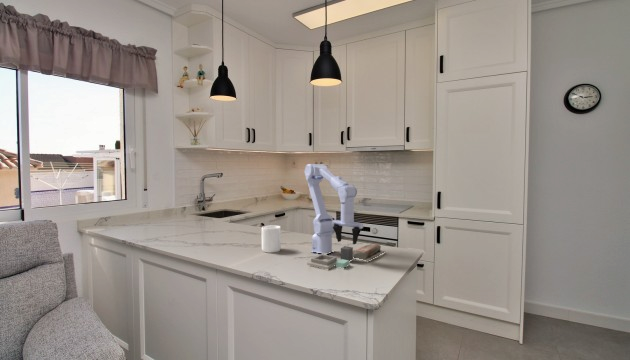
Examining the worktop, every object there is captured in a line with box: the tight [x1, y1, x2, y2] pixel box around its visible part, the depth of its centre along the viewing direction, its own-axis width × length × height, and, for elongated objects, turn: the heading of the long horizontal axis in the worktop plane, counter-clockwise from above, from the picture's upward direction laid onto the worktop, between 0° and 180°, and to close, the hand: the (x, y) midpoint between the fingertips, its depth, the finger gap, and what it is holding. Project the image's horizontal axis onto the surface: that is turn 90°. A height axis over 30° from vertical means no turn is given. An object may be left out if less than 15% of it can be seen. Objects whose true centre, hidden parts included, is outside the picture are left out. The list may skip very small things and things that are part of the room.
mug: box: [261, 224, 282, 254], centre depth 152 cm, size 10×12×12 cm
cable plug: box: [335, 258, 350, 269], centre depth 129 cm, size 4×6×2 cm, turn 145°
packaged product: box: [353, 243, 386, 261], centre depth 144 cm, size 18×5×10 cm
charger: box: [340, 245, 354, 261], centre depth 136 cm, size 4×4×6 cm
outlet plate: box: [306, 254, 341, 270], centre depth 132 cm, size 10×12×3 cm
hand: (346, 242), depth 136 cm, fingers open, 7 cm apart
